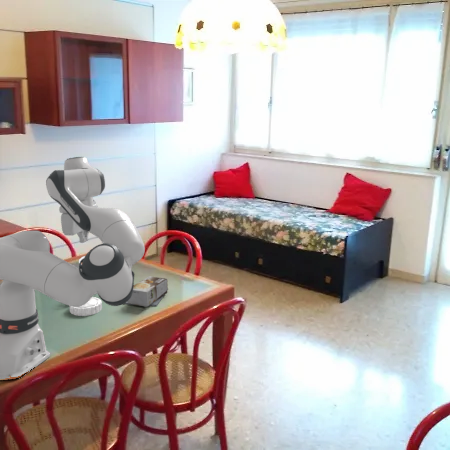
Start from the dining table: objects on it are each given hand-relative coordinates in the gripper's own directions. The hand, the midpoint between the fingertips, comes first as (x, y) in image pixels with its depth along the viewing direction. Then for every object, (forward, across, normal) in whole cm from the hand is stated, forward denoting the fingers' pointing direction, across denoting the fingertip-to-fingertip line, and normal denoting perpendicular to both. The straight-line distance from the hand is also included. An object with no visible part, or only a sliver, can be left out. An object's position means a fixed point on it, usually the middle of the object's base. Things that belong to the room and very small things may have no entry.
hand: (84, 241), depth 183 cm
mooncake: (+29, -7, -6) cm, 31 cm away
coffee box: (+26, -14, +12) cm, 32 cm away
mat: (+29, -25, +10) cm, 40 cm away
